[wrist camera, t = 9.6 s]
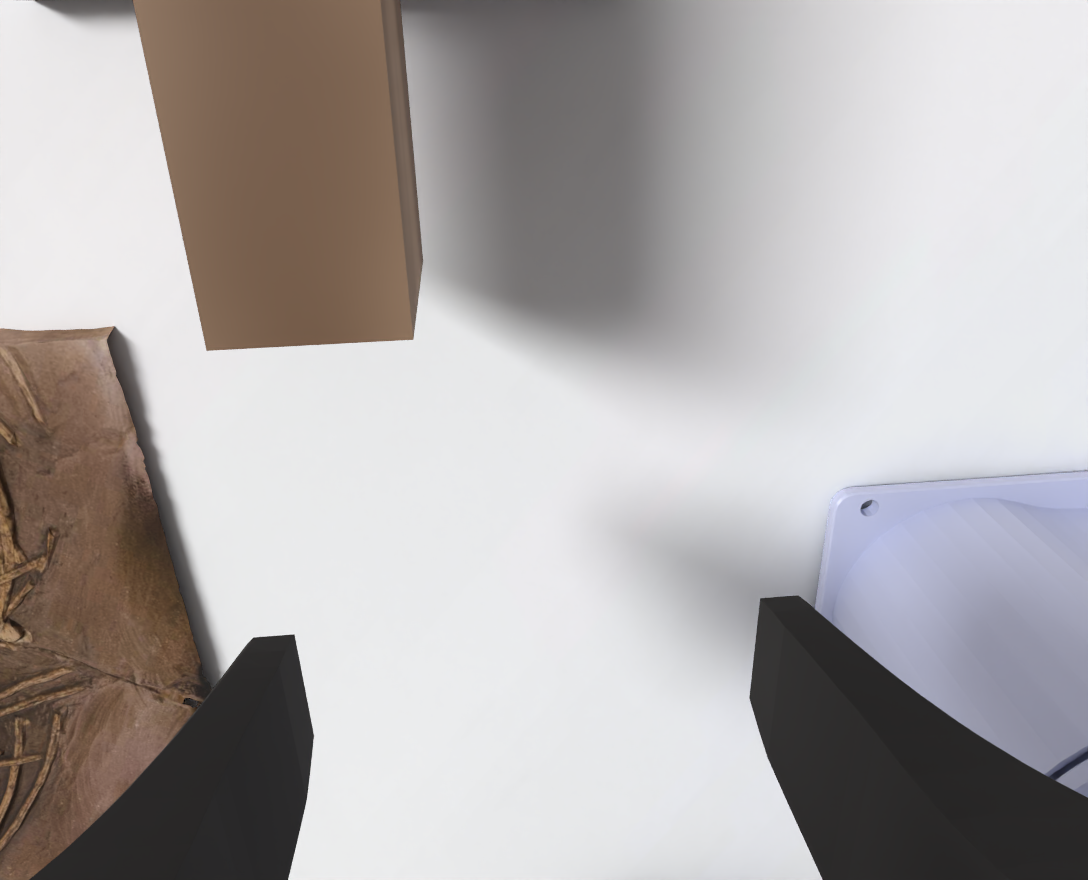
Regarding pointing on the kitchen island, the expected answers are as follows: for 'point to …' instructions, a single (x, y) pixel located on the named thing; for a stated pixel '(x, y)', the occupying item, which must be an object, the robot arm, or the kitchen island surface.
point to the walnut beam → (289, 166)
